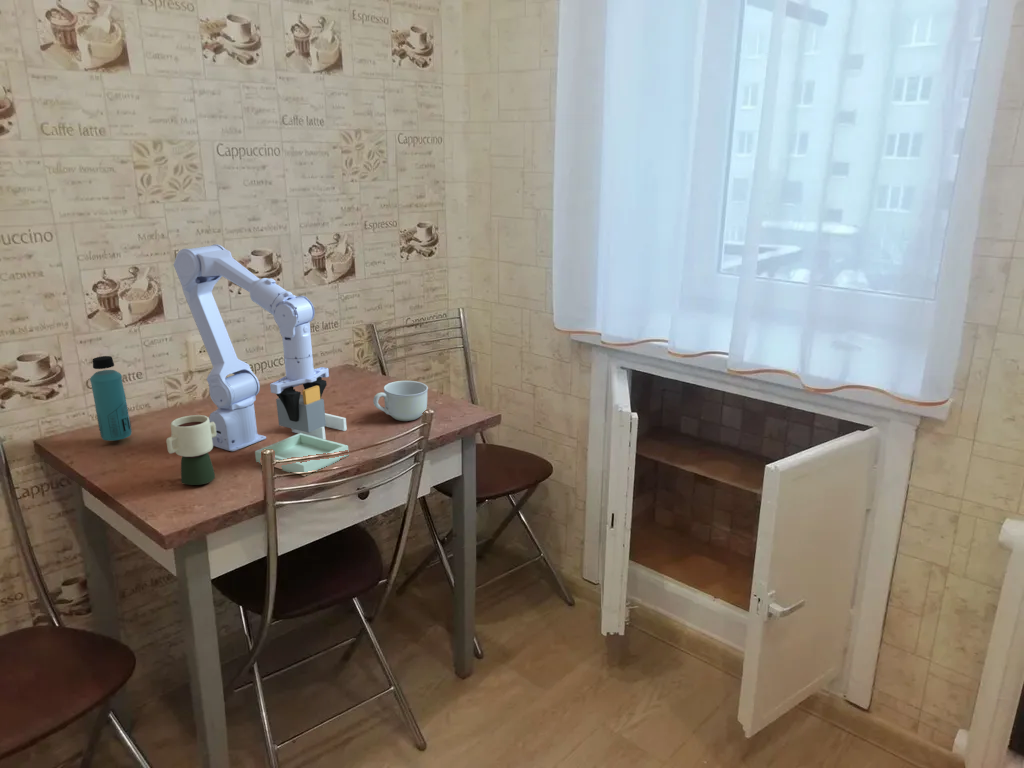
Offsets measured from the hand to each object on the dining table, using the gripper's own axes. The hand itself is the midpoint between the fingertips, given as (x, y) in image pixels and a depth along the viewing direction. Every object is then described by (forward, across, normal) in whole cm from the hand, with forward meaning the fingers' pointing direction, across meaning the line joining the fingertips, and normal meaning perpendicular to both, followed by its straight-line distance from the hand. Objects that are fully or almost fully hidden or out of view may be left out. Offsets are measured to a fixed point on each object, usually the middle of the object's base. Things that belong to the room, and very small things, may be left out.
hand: (304, 416), depth 158 cm
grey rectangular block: (+2, 0, +1) cm, 2 cm away
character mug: (+9, -22, +8) cm, 25 cm away
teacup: (+9, +28, -3) cm, 30 cm away
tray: (+9, -3, -1) cm, 9 cm away
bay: (+9, +12, +7) cm, 16 cm away
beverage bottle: (+9, -17, +43) cm, 47 cm away
